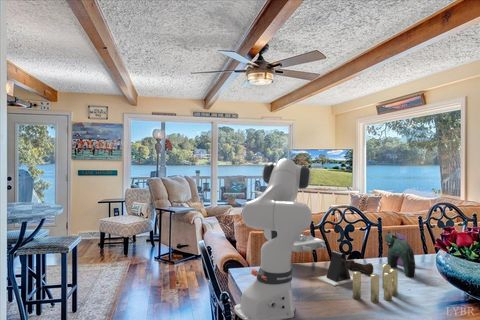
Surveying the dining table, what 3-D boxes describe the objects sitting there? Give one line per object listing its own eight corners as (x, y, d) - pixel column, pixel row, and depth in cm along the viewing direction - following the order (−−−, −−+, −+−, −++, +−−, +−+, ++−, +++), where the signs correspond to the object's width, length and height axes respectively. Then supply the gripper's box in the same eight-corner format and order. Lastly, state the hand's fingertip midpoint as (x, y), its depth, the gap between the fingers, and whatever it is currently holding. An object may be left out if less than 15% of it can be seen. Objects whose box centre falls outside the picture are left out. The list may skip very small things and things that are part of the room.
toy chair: (393, 264, 167) (393, 236, 167) (389, 259, 175) (389, 232, 176) (410, 265, 165) (410, 237, 165) (405, 260, 174) (405, 233, 174)
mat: (333, 286, 137) (333, 284, 137) (316, 278, 145) (316, 277, 145) (358, 279, 145) (358, 278, 145) (340, 272, 153) (340, 271, 154)
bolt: (344, 269, 164) (371, 277, 152) (339, 266, 161) (366, 273, 149) (347, 259, 166) (374, 265, 154) (342, 255, 163) (369, 261, 151)
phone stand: (335, 282, 140) (335, 254, 140) (326, 277, 145) (326, 251, 145) (350, 279, 144) (350, 252, 144) (341, 274, 149) (341, 249, 149)
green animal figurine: (383, 264, 167) (383, 226, 167) (395, 264, 167) (395, 226, 167) (406, 278, 147) (406, 235, 147) (419, 278, 147) (419, 234, 148)
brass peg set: (373, 307, 117) (373, 280, 117) (351, 297, 125) (351, 272, 125) (407, 294, 128) (407, 269, 128) (385, 286, 137) (385, 263, 137)
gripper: (283, 238, 162) (302, 244, 150) (312, 235, 172) (332, 240, 160) (283, 251, 161) (302, 257, 150) (312, 246, 172) (332, 252, 160)
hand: (318, 248), depth 155 cm, fingers open, 8 cm apart
